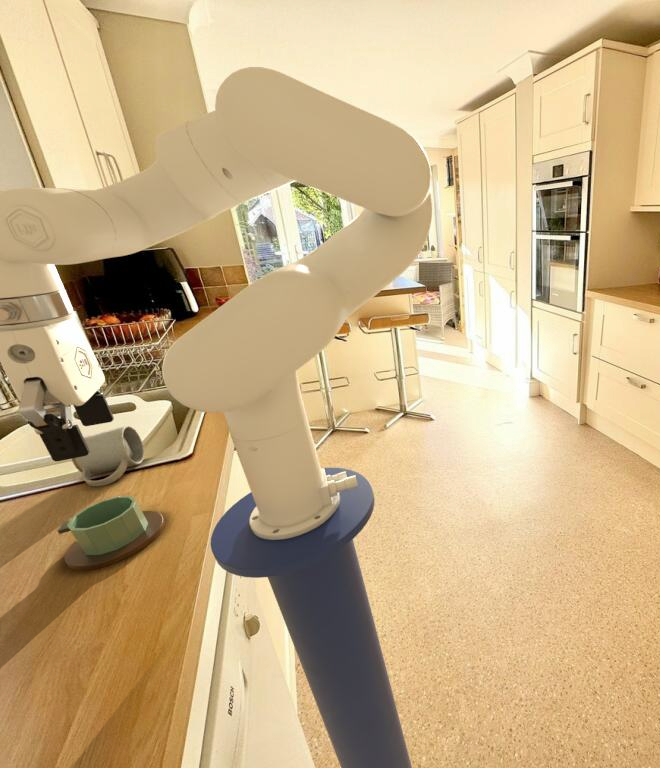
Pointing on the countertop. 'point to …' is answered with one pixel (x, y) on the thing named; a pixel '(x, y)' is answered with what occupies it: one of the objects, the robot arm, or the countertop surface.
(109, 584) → the countertop surface
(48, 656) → the countertop surface
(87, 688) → the countertop surface
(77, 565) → the turntable
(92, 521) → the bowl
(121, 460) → the ceramic mug
